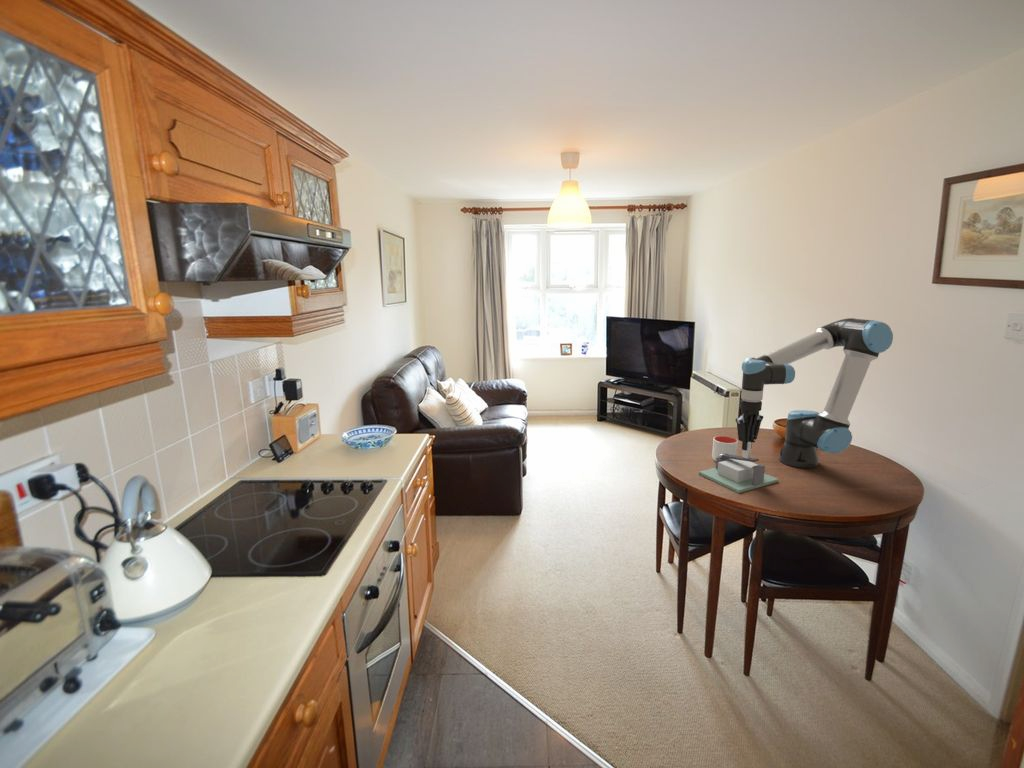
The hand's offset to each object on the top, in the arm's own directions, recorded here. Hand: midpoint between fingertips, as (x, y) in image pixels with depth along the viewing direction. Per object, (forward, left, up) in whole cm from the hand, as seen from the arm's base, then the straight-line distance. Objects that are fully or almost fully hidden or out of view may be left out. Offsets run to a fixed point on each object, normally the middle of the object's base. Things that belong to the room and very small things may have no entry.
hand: (745, 457), depth 193 cm
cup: (-10, -19, -11) cm, 24 cm away
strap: (-1, -4, -2) cm, 4 cm away
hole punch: (0, -3, -10) cm, 11 cm away
